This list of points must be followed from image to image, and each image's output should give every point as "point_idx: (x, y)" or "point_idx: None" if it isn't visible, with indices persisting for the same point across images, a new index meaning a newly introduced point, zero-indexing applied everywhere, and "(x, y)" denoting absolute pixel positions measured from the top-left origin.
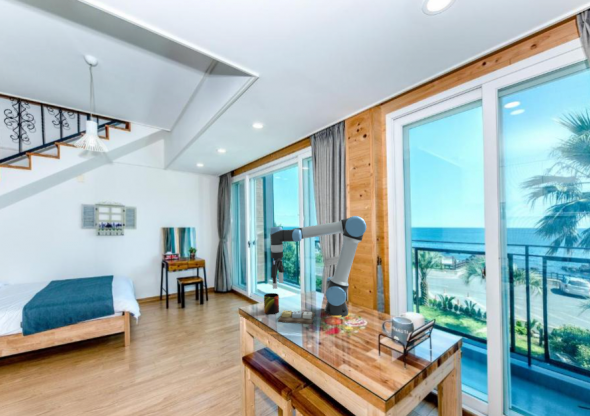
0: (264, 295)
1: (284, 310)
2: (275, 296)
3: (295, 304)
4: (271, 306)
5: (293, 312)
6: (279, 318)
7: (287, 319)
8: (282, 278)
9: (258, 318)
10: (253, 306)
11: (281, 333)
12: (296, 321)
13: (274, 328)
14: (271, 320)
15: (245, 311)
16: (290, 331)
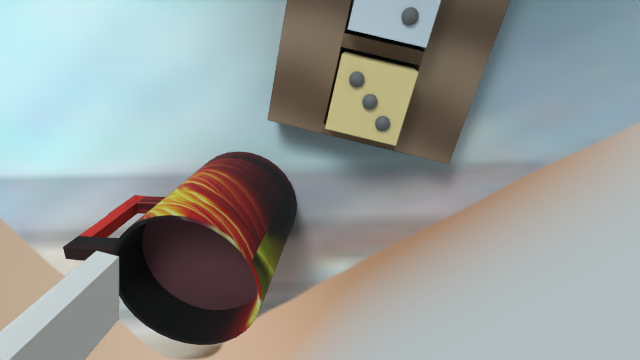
0: (192, 339)
1: (328, 121)
2: (138, 230)
3: (21, 12)
4: (280, 236)
5: (391, 33)
6: (426, 154)
7: (460, 89)
8: (47, 328)
9: (327, 277)
10: (121, 312)
11: (623, 128)
12: (506, 4)
13: (518, 177)
14: (370, 200)
15: (210, 347)
16: (609, 60)
